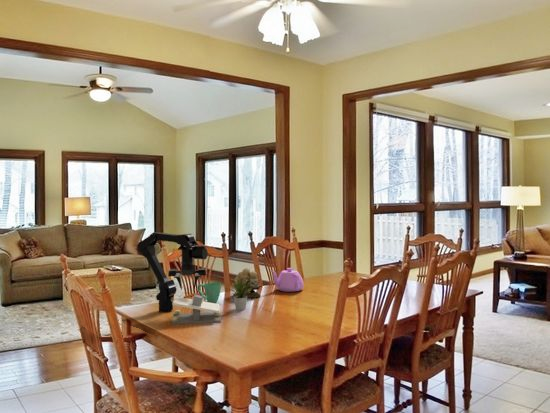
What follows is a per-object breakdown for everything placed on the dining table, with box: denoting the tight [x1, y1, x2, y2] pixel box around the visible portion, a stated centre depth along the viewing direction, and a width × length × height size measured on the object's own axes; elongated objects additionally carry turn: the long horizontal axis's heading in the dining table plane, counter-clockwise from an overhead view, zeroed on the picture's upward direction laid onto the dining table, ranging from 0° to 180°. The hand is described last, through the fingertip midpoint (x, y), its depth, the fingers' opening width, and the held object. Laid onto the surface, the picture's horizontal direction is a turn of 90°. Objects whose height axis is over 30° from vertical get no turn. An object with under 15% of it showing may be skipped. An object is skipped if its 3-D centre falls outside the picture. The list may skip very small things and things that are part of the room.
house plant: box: [229, 278, 254, 311], centre depth 250 cm, size 14×14×16 cm
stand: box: [170, 309, 222, 325], centre depth 231 cm, size 23×16×6 cm
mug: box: [197, 282, 222, 304], centre depth 269 cm, size 15×10×10 cm
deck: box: [172, 294, 220, 313], centre depth 231 cm, size 22×14×5 cm, turn 97°
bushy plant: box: [233, 267, 262, 300], centre depth 281 cm, size 18×12×17 cm, turn 64°
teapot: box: [271, 267, 304, 293], centre depth 297 cm, size 22×22×14 cm
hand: (187, 289), depth 244 cm, fingers open, 6 cm apart
